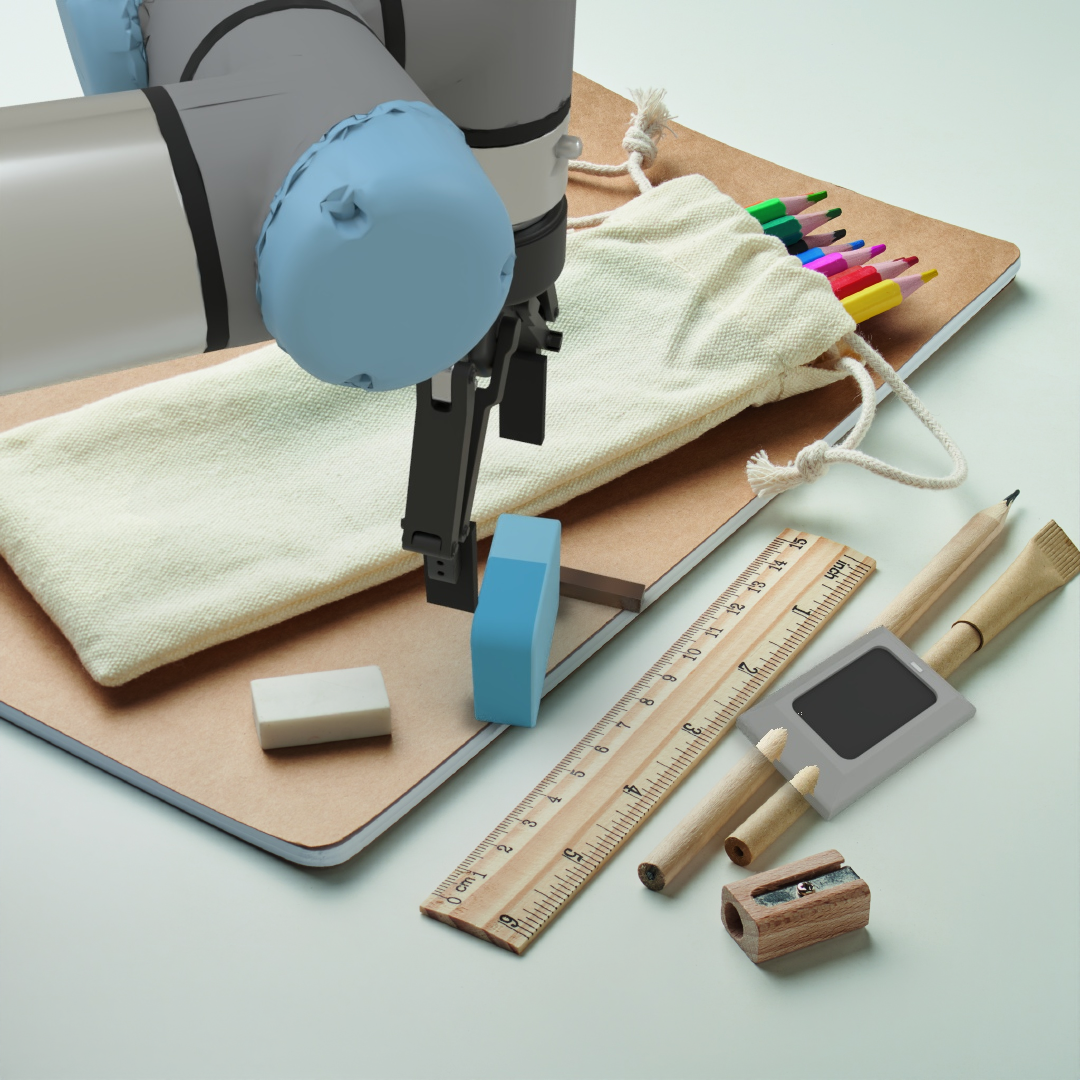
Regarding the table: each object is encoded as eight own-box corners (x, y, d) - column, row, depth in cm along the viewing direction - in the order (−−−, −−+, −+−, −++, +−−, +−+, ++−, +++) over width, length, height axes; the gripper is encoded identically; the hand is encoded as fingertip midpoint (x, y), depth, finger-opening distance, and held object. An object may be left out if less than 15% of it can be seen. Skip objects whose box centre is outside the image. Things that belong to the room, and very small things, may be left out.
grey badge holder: (739, 707, 87) (886, 613, 93) (733, 734, 90) (876, 641, 96) (833, 804, 82) (982, 698, 88) (823, 830, 85) (968, 726, 91)
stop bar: (518, 595, 98) (518, 571, 96) (524, 581, 100) (524, 557, 97) (638, 623, 97) (641, 599, 94) (643, 608, 98) (645, 584, 95)
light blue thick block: (503, 604, 98) (501, 503, 89) (558, 612, 97) (562, 510, 88) (474, 729, 90) (468, 631, 81) (534, 738, 90) (535, 640, 81)
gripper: (481, 383, 46) (488, 702, 61) (627, 75, 62) (602, 391, 77) (296, 346, 47) (349, 668, 63) (486, 53, 63) (490, 368, 79)
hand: (489, 515), depth 70 cm, fingers open, 13 cm apart
